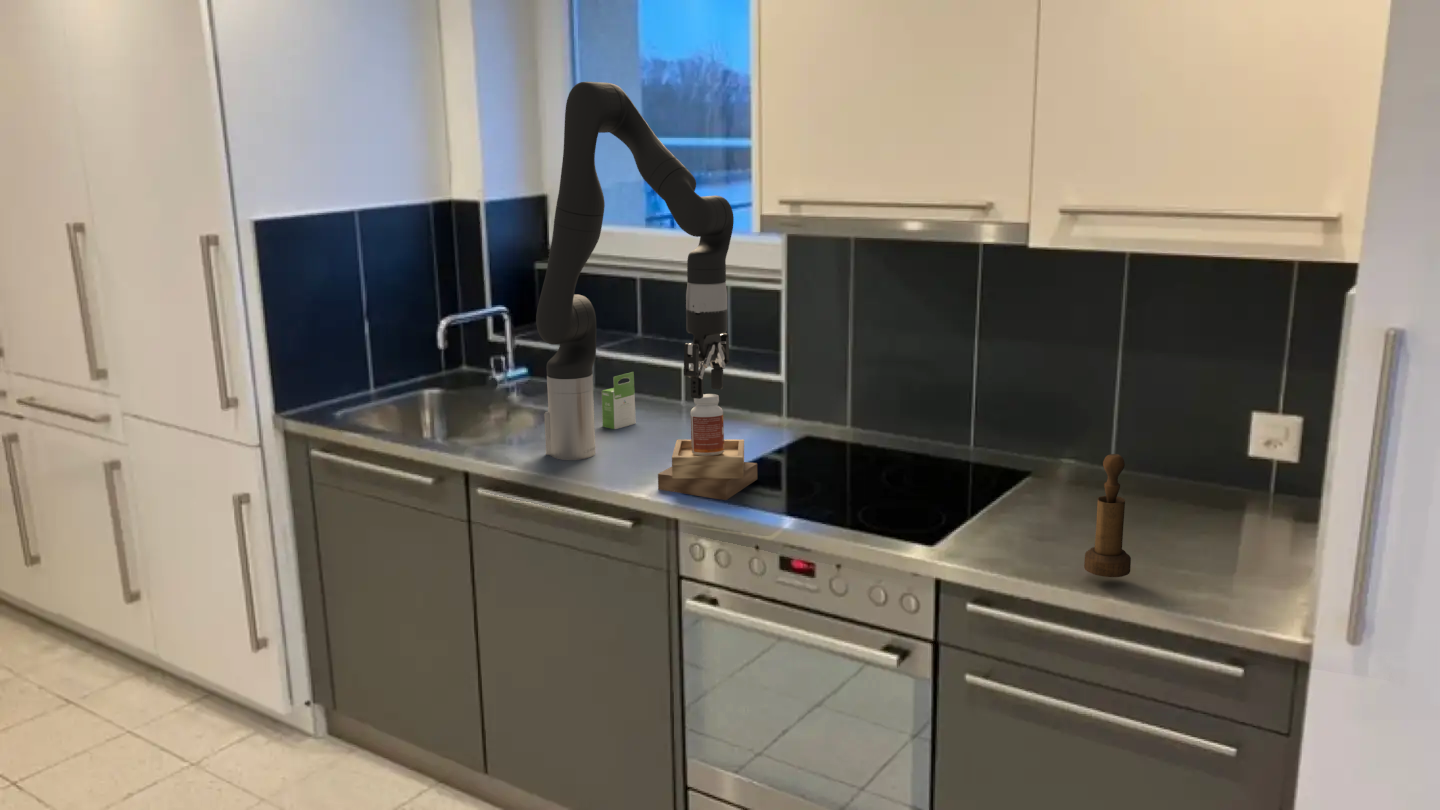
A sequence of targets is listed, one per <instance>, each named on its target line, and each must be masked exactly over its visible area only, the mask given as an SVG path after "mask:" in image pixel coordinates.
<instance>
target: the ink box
mask: <svg viewBox="0 0 1440 810" xmlns="http://www.w3.org/2000/svg"><path fill="white" fill-rule="evenodd" d="M634 374H635V373H634V371H631V372H628V373H623V374H619V375H615V376H612V378H613V379H612V380H613V387H611V388H607V389H603V390H601V410H602V411H601V416H602V417H601V419H602V421H601V422H602V427H603V428H608V429H610V430H617V429H621V428H626V427H628V426H632V425H635V424H636V423H637V421H636V401H635V400H636V399H635V397H636V396H635V391H636V389H635V375H634ZM623 379H628V380H629V381H627V382H622V383H619V381H621V380H623Z"/></svg>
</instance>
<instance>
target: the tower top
mask: <svg viewBox="0 0 1440 810" xmlns="http://www.w3.org/2000/svg"><path fill="white" fill-rule="evenodd" d="M744 462H745V439H724V452H723V453H722V454H720V455H715V456H698V455H694V454H693V453H692V445H691V439H676V442H675V444H674V448H673V451H672V456H671V467H672V478H743V472H744Z"/></svg>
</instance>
